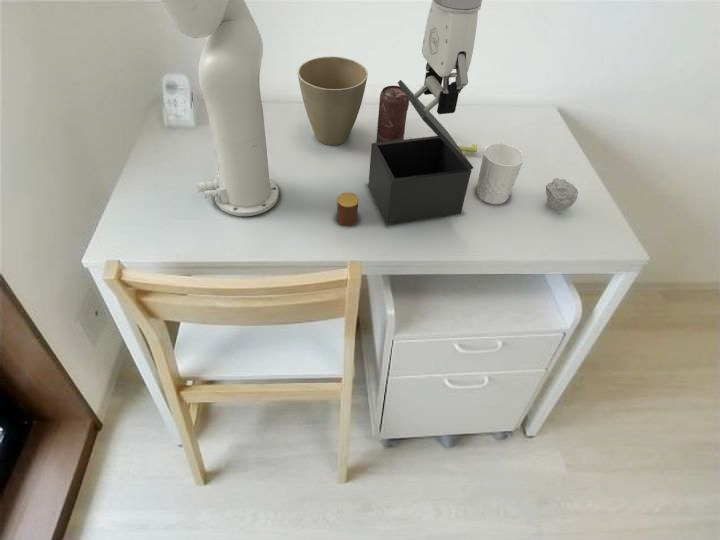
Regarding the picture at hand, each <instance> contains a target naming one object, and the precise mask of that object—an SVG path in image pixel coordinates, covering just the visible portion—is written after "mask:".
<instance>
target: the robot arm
mask: <svg viewBox="0 0 720 540" xmlns="http://www.w3.org/2000/svg"><path fill="white" fill-rule="evenodd" d="M157 1H158V3H159V4H160V6H161V7H162V9H163V11H164V13H165V14H166V16H167V18H168V19H169V21H170V22H171V23H172V25H173V26H174V27H175V28H176V29H177V30H178V31H179V32H180V33H182V34H183V35H185V36H186V37H189V38H193V39H204V40H205V42H204V46H203V49H202V51H201V54H200V58H199V62H198V71H197V73H198V74H197V76H198V83H199V87H200V92H201V95H202V98H203V101H204V105H205V108H206V113H207V117H208V123H209V127H210V133H211V138H212V143H213V149H214V154H215V155H214V156H215V160H216V166H217V172H218V173H217V178H213V179H212V181H211V180H209V181H199V182H196V189H197V193H203V194H204V199H209V198H214V199H215V203H216V205H217V207H218V208H219V209H220V210H222V211H223V212H225V213H227V214H230V215H233V216H238V217H251V216H257V215H260V214H261V215H262V214H263V213H266V212H267V211H269V210H271V209H272V208H273V207H274V206H275V205H276V203H277V202H278V200H279V196H280V194H279V193H280V192H279V188H278V187H279V186H277V184H276V182H275V181H274V180H272V179H270V170H269V169H270V168H269V159H268V149H267V148H268V147H267V138H266V127H265V117H264V116H265V115H264V109H263V108H264V107H263V101H262V96H261V85H260V83H261V81H260V80H261V79H260V77H261V68H262V60H263V55H264V54H263V53H264V43H263V39H262V35H261V33H260V30H259V28H258V26H257V25H258V24H256V21H255V19H254V17H253V15H252V14H251V13H252V12H251V11H250V9H249V7H248V5H247V3H246V1H245V0H157ZM482 3H483V0H432V1H431V3H430V7H429V11H428V14H427V20H426V24H425V30H424V33H423V34H424V35H423V40H422V46H421V54H422V57H423V58H424V59H425V61H426V64H425V71H426V72H425V77H424V82H423V86H424V85H425V80H426V78H427V77H429V76H434V77H435V78H436V79H437V81H438V82H439V83H440V84H441V86H442V87H443V91H441V92H440V97H439V103H438V104H437V109H436V112H437V113H438V115H447V114H454V113H455V112H456V110H457V104H458V100H459V95H460V94H461V92H462V90H463V89H464V88H465V87H466V86H467V85H468V84H469V77H468V72H469V71H470V66H471V62H472V58H473V54H474V47H475V41H476V34H477V27H478V17H479V16H478V15H479V12H478V11H480V10H481V8H482ZM454 70H455V72H453V71H454ZM450 78H455V81H452V82H450ZM423 94H424V95H425V96H427V95H433V94H432V93H431V91H430V90H429V89H427V90H426V91H425V92H424V93H423Z"/></svg>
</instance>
